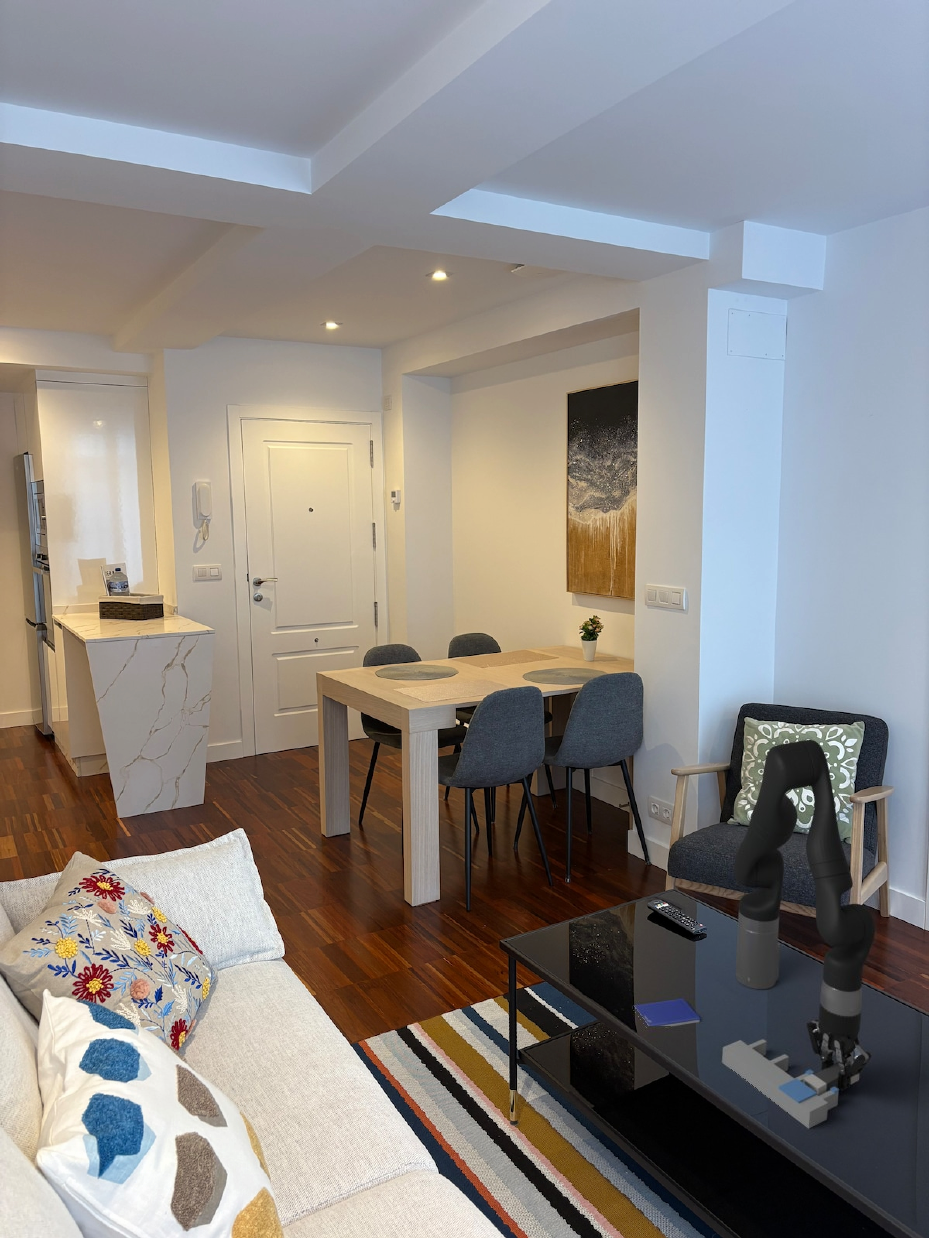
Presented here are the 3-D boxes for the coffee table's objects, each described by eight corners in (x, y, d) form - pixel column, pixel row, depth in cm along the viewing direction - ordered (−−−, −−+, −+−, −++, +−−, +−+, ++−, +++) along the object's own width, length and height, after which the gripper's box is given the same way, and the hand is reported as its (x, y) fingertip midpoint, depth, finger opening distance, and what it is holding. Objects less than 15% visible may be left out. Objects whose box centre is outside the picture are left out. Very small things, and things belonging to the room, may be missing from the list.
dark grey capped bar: (844, 1070, 183) (844, 1055, 182) (859, 1079, 180) (859, 1064, 179) (803, 1093, 177) (803, 1078, 177) (817, 1103, 174) (818, 1088, 174)
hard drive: (648, 1025, 198) (699, 1017, 201) (633, 1004, 206) (682, 997, 209) (648, 1032, 199) (699, 1024, 202) (632, 1010, 206) (682, 1003, 209)
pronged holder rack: (756, 1047, 192) (757, 1030, 192) (844, 1109, 173) (846, 1091, 173) (722, 1062, 187) (722, 1045, 187) (808, 1128, 169) (809, 1109, 168)
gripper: (884, 1016, 172) (878, 1097, 175) (823, 980, 184) (818, 1057, 187) (858, 1027, 169) (852, 1111, 171) (798, 990, 181) (793, 1069, 183)
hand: (835, 1082), depth 179 cm, fingers closed on dark grey capped bar, 3 cm apart
